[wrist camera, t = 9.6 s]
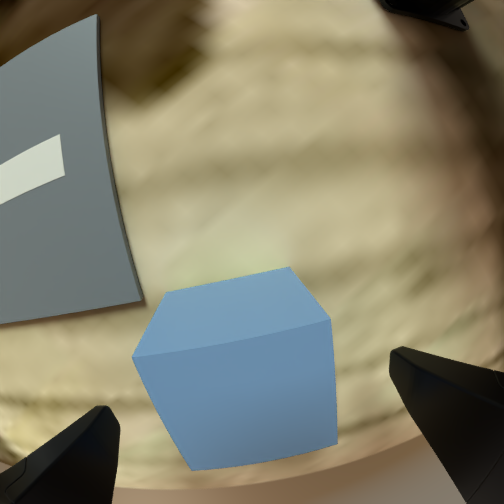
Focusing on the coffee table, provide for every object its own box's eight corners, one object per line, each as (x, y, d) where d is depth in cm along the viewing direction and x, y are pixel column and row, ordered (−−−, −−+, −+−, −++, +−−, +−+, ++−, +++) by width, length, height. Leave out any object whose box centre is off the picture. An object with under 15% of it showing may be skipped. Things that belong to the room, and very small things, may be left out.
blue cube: (288, 266, 12) (330, 318, 7) (304, 367, 13) (337, 443, 8) (166, 291, 11) (131, 357, 7) (199, 388, 12) (191, 470, 8)
